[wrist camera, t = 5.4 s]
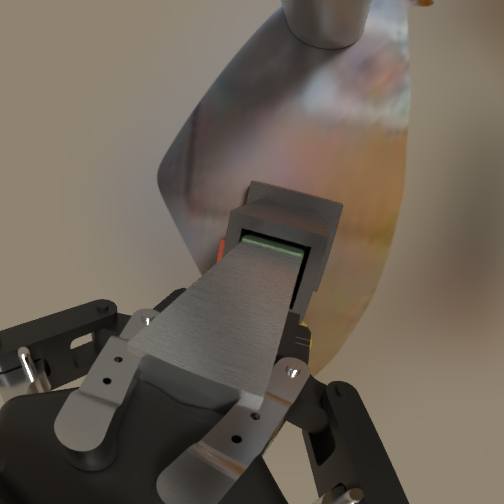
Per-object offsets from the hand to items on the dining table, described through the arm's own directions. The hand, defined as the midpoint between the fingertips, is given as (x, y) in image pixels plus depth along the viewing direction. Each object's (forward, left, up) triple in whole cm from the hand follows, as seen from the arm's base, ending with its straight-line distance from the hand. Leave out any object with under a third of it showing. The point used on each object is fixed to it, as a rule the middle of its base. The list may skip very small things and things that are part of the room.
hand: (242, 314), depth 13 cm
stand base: (0, 0, -19) cm, 19 cm away
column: (0, 0, -12) cm, 12 cm away
